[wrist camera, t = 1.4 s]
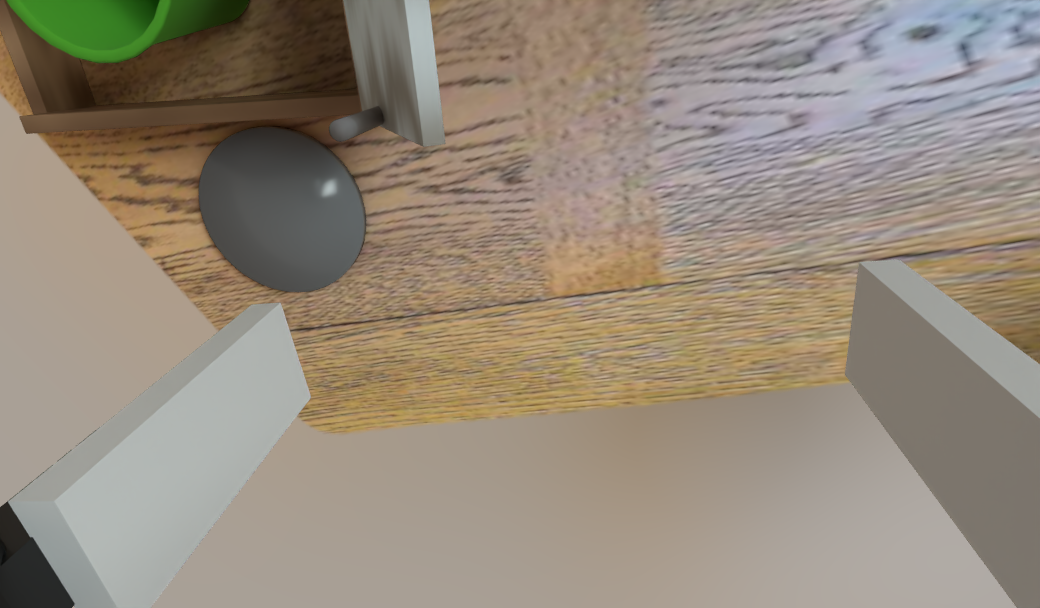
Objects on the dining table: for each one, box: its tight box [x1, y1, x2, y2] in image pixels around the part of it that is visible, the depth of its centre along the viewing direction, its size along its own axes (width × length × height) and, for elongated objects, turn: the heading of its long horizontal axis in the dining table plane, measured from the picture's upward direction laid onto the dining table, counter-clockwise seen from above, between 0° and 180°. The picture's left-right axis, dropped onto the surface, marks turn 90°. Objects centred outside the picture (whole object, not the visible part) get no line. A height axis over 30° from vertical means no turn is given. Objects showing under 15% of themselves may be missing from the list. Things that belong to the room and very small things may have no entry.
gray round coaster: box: [199, 126, 366, 292], centre depth 42 cm, size 12×12×1 cm
